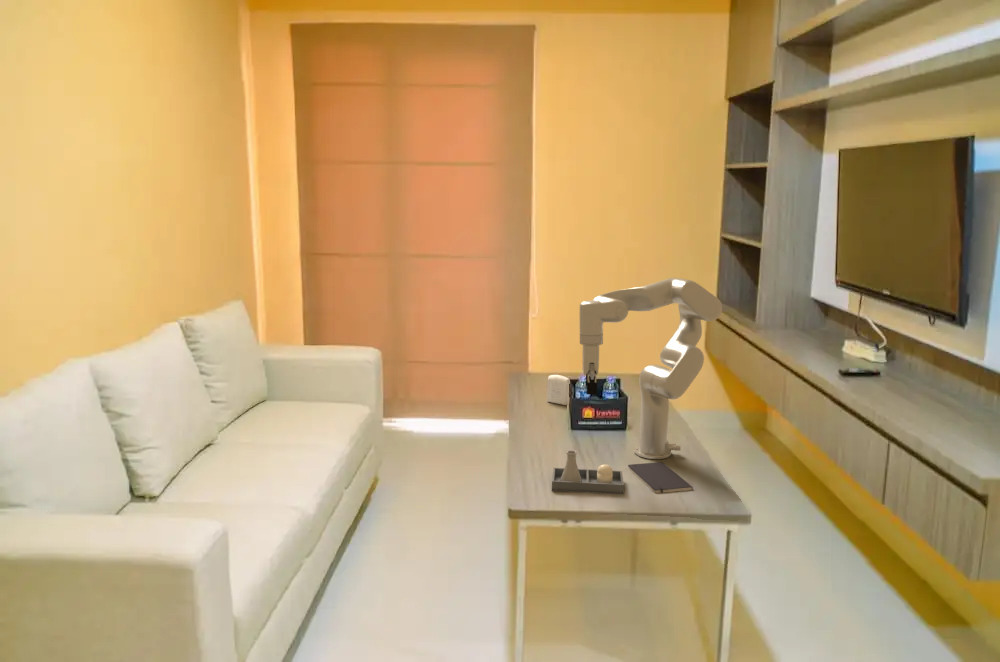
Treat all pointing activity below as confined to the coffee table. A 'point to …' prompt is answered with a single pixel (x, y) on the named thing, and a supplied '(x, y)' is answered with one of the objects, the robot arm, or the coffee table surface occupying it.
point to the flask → (571, 468)
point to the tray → (588, 482)
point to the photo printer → (558, 389)
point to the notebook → (659, 477)
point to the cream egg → (604, 474)
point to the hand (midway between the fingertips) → (591, 389)
